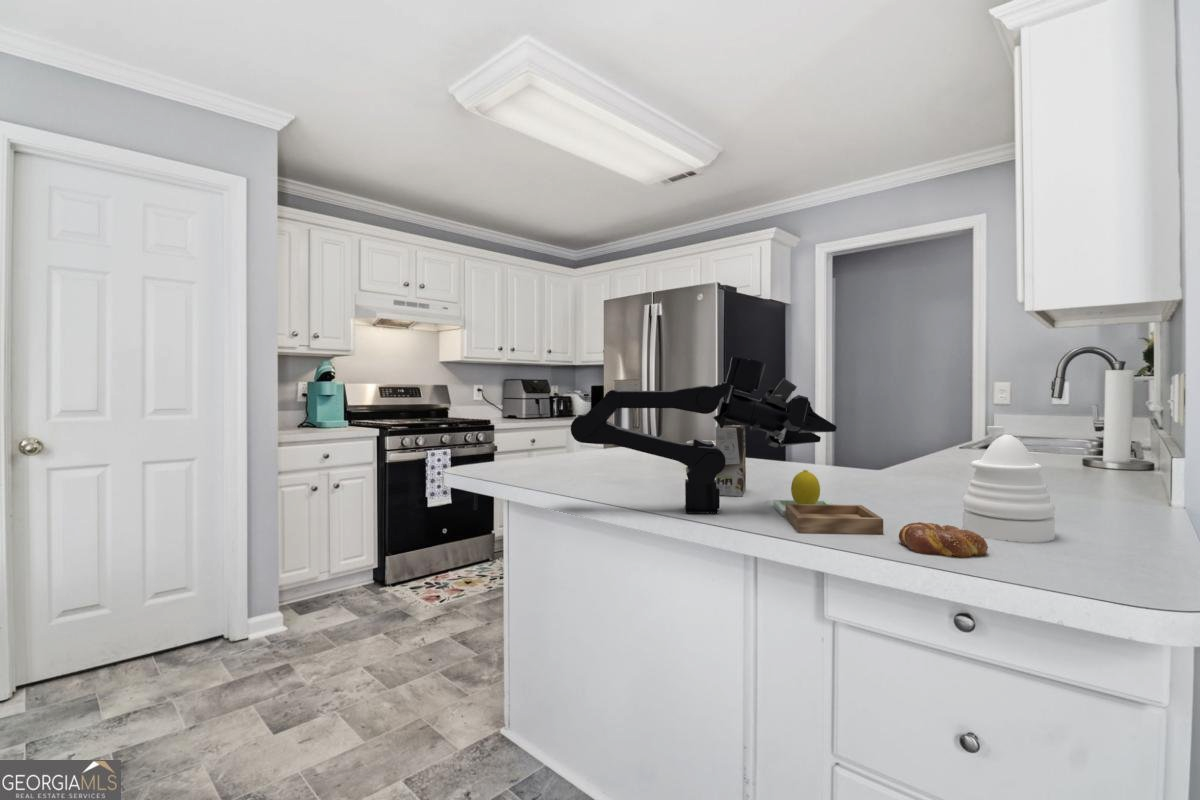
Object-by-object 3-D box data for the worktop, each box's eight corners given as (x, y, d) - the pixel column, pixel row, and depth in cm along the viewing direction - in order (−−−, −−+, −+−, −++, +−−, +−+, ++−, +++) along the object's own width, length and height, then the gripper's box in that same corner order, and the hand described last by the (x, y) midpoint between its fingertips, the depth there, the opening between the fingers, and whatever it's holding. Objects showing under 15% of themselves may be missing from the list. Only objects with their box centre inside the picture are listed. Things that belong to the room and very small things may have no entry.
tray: (798, 532, 102) (798, 517, 102) (785, 517, 114) (785, 504, 114) (883, 534, 100) (883, 519, 100) (861, 518, 112) (861, 504, 112)
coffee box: (743, 497, 135) (742, 427, 135) (715, 495, 137) (714, 426, 137) (746, 490, 144) (746, 424, 143) (720, 489, 146) (719, 424, 146)
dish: (782, 516, 114) (782, 510, 114) (773, 505, 125) (773, 499, 125) (841, 517, 113) (841, 511, 113) (827, 506, 124) (827, 500, 124)
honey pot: (945, 528, 104) (945, 426, 103) (993, 521, 109) (993, 423, 108) (1023, 546, 92) (1023, 431, 91) (1072, 537, 97) (1072, 428, 96)
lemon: (822, 512, 116) (822, 472, 116) (793, 511, 117) (792, 471, 117) (817, 506, 121) (817, 468, 121) (789, 506, 122) (789, 467, 122)
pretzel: (995, 549, 91) (995, 525, 91) (978, 565, 83) (978, 539, 83) (911, 536, 99) (911, 514, 99) (888, 549, 92) (888, 526, 92)
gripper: (771, 360, 112) (853, 383, 110) (750, 390, 130) (820, 409, 128) (758, 414, 109) (842, 438, 108) (738, 437, 127) (810, 457, 125)
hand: (827, 434), depth 117 cm, fingers open, 9 cm apart
